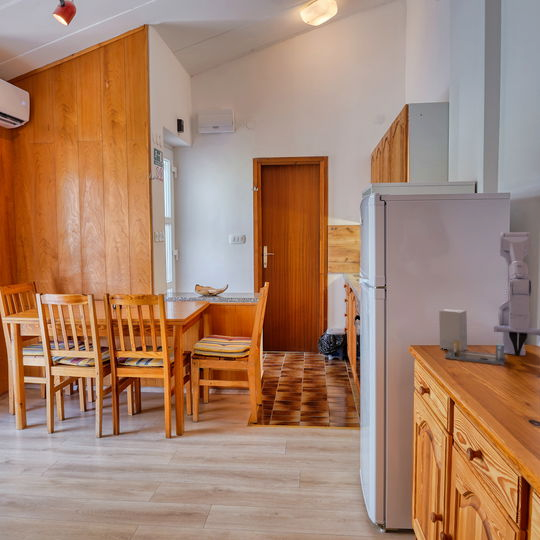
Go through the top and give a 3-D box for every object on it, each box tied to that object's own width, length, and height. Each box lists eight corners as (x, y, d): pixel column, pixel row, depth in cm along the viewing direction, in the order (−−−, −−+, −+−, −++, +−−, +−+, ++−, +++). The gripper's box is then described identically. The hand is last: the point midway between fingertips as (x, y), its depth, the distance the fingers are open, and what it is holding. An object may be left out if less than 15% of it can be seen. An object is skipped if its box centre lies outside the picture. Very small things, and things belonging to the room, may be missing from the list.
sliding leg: (496, 354, 158) (496, 343, 157) (503, 355, 156) (504, 344, 156) (494, 359, 152) (495, 347, 151) (502, 360, 150) (503, 348, 150)
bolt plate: (449, 351, 168) (450, 338, 167) (505, 357, 159) (505, 343, 159) (445, 358, 158) (445, 344, 158) (503, 365, 149) (504, 350, 149)
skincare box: (467, 350, 170) (468, 310, 169) (460, 352, 166) (461, 312, 165) (445, 346, 176) (446, 307, 175) (438, 348, 172) (439, 309, 171)
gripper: (493, 314, 152) (492, 355, 153) (544, 318, 145) (543, 360, 146) (495, 311, 158) (493, 350, 159) (544, 315, 151) (542, 355, 152)
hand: (517, 355), depth 153 cm, fingers closed
